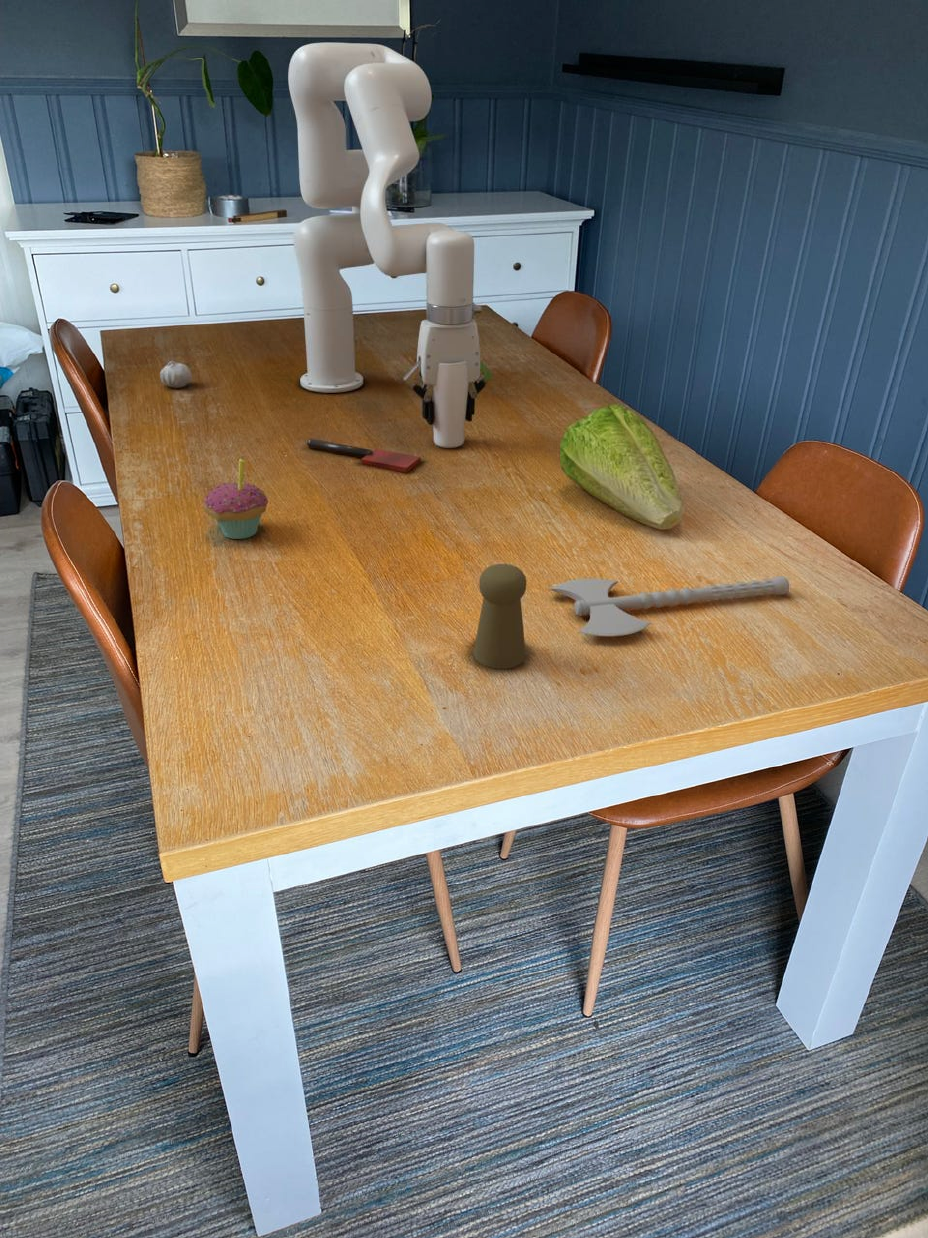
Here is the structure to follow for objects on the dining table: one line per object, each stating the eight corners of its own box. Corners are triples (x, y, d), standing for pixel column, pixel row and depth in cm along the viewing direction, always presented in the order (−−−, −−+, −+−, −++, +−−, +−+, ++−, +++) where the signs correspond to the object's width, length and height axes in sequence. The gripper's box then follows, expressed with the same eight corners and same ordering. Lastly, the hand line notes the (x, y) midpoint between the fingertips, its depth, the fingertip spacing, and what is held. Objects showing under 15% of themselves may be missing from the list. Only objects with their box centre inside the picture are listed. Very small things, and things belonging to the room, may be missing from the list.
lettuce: (618, 513, 129) (706, 453, 129) (538, 430, 145) (617, 376, 145) (643, 573, 140) (724, 517, 140) (566, 489, 155) (639, 439, 155)
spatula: (299, 452, 161) (299, 443, 160) (316, 442, 165) (315, 433, 165) (406, 472, 155) (406, 463, 154) (420, 461, 159) (420, 452, 158)
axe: (756, 568, 129) (759, 552, 128) (812, 620, 117) (816, 603, 116) (545, 590, 122) (546, 574, 121) (582, 648, 111) (584, 631, 110)
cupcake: (281, 526, 137) (274, 447, 130) (246, 550, 130) (237, 468, 124) (232, 514, 140) (223, 436, 133) (195, 537, 133) (184, 456, 127)
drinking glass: (470, 437, 169) (470, 352, 161) (466, 451, 163) (467, 364, 155) (432, 435, 169) (430, 351, 161) (427, 450, 163) (425, 363, 156)
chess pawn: (470, 640, 112) (473, 557, 106) (521, 639, 112) (527, 556, 107) (475, 669, 107) (478, 583, 101) (529, 668, 107) (535, 582, 102)
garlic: (169, 392, 186) (165, 366, 184) (157, 385, 190) (154, 359, 187) (198, 387, 190) (194, 361, 187) (186, 380, 193) (182, 354, 190)
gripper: (493, 305, 160) (489, 409, 169) (392, 310, 155) (394, 417, 165) (507, 316, 154) (503, 423, 163) (403, 322, 149) (404, 432, 158)
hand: (448, 419), depth 164 cm, fingers closed on drinking glass, 6 cm apart
